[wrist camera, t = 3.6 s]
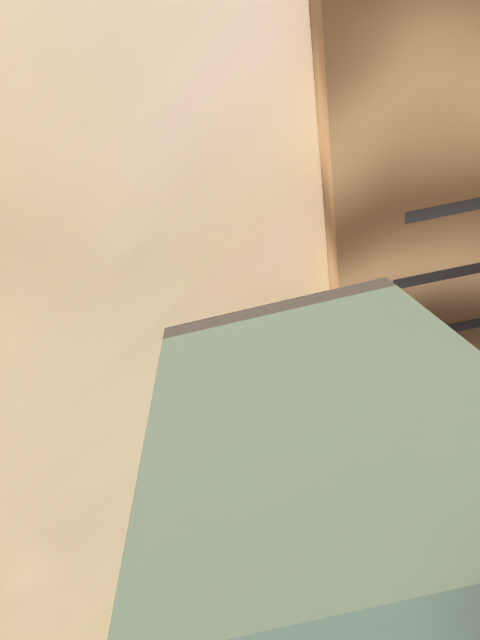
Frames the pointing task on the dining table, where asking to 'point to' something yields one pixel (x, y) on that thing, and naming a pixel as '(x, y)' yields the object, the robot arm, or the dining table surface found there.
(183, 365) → the block
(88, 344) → the dining table surface
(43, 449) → the dining table surface
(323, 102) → the oak board
